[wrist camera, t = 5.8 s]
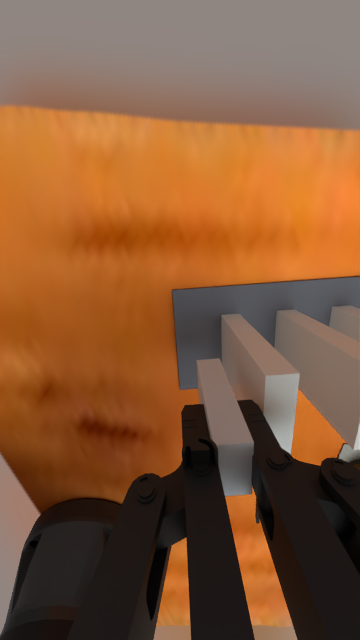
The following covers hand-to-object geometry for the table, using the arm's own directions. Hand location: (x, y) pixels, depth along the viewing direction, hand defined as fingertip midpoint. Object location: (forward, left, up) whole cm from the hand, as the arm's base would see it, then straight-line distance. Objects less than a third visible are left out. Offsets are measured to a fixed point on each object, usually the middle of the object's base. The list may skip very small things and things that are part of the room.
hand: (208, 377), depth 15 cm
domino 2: (+8, 0, -6) cm, 10 cm away
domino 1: (+3, 0, -6) cm, 7 cm away
